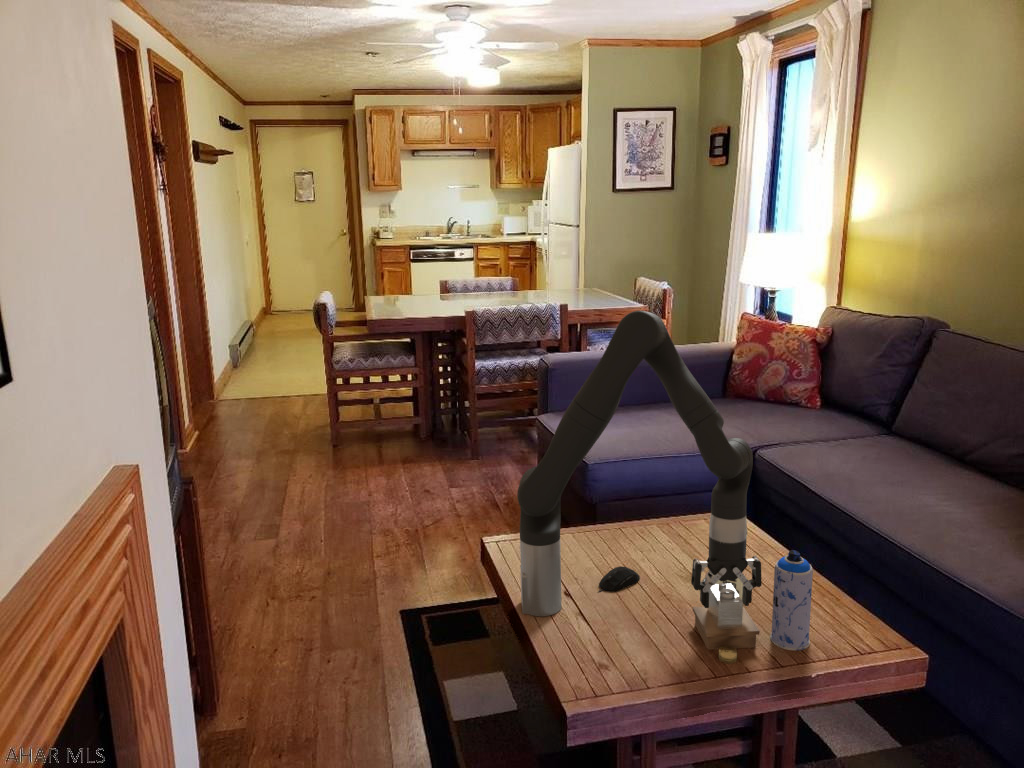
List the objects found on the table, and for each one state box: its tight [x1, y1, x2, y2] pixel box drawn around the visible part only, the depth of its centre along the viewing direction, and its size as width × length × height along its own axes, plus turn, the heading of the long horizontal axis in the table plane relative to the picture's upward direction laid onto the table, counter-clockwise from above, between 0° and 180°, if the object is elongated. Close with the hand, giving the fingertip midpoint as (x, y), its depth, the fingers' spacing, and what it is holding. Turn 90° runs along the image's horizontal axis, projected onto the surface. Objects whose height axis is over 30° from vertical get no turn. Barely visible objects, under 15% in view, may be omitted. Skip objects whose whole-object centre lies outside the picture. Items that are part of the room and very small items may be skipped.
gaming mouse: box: [596, 565, 641, 594], centre depth 190 cm, size 6×15×4 cm, turn 130°
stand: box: [692, 606, 761, 651], centre depth 166 cm, size 11×11×4 cm
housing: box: [707, 583, 744, 629], centre depth 164 cm, size 8×5×7 cm, turn 2°
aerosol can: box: [770, 549, 814, 651], centre depth 161 cm, size 8×8×20 cm
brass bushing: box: [717, 645, 738, 665], centre depth 158 cm, size 4×4×2 cm
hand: (725, 605), depth 165 cm, fingers open, 8 cm apart
